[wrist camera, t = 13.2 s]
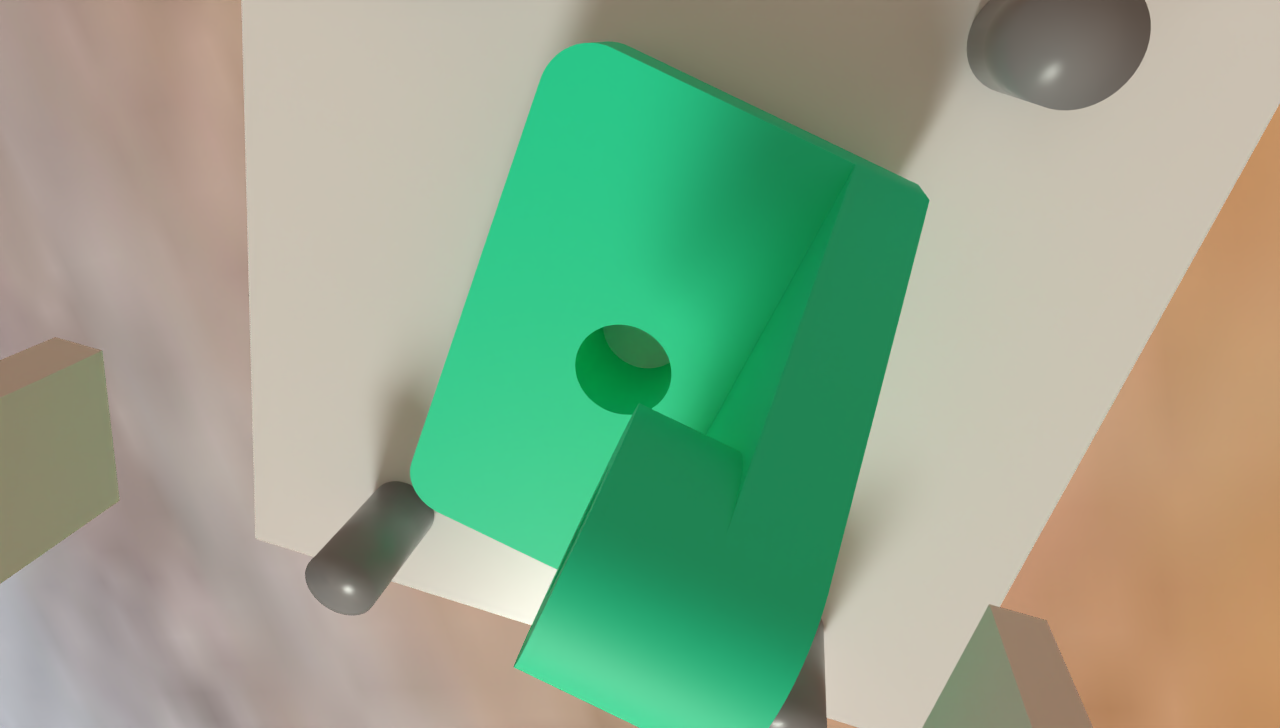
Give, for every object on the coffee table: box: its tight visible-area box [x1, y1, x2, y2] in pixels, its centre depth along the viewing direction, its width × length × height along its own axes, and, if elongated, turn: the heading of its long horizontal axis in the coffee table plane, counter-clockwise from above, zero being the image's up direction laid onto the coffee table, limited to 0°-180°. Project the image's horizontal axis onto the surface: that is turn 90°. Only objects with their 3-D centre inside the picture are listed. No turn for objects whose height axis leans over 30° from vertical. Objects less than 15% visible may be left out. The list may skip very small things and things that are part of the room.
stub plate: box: [241, 0, 1280, 728], centre depth 18 cm, size 22×22×5 cm
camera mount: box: [410, 41, 930, 728], centre depth 14 cm, size 12×8×10 cm, turn 157°
